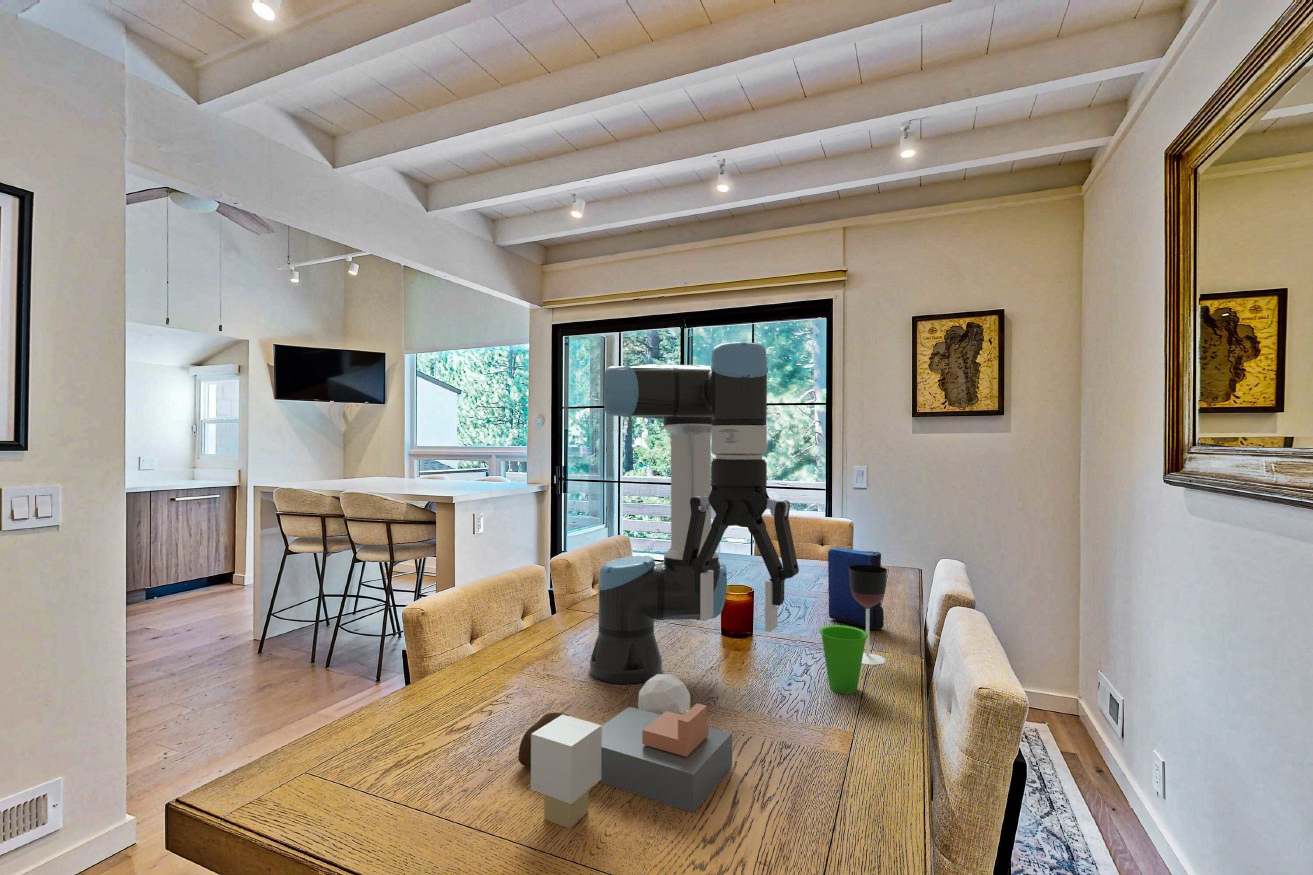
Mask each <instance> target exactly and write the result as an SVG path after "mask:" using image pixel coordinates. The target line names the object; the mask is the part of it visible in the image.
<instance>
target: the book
mask: <svg viewBox="0 0 1313 875" xmlns="http://www.w3.org/2000/svg"><path fill="white" fill-rule="evenodd" d="M827 563H828V564H827V570H828V574H827V575H828V578H827V579H828V617H829V618H830V619H831V620H834V621H838V622H842V623H845V624H850V625H851V626H852V625H853V626H858V627H861V628H866V608H865V607H864V606H863V605H861V604H859V603H858V602H857V601H856V600H855V599H854V597H853V595H852V592H851V588H850V578H849V567H850V566H853V565H874V566H880V567H882V553H881V552H879V551H872V550H871V551H870V550H869V551H867V550H865V551H864V550H857V549H849V548H845V547H839V546H837V547H833V548H830V549H828V552H827ZM884 618H885V615H884V608H883V607H882V601H881V602H879V603H878V604H877V605H875V606H873V607H871V608H870V616H869V630H870V629H871V630H879V629H883V628H884V622H885V621H884V620H885V619H884Z"/></svg>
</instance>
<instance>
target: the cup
mask: <svg viewBox="0 0 1313 875" xmlns="http://www.w3.org/2000/svg"><path fill="white" fill-rule="evenodd" d="M819 633H820V634H821V640H822V641H821V642H822V646H823V653H824V661H825V667H826V672H827V678H828V679H827V680H828V685H829V687H830V689H831V690H832V691H834V692H836V693H840V694H847V695H848V694H854V693H856V691H857V690H858V688H859V682H860V681H859V680H860V675H861V668H862V664H863V663H862V658H863V653H865V651H864V650H865V647H866V638H867V637H868V635H867V633H866V630H863V629H861V628H858V627H854V626H849V625H841V624H840V625H837V624H836V625H827V626H822V627H821V628H820V629H819Z"/></svg>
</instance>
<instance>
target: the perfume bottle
mask: <svg viewBox="0 0 1313 875" xmlns="http://www.w3.org/2000/svg"><path fill="white" fill-rule="evenodd" d="M637 709H640V710H644V711H647V712H651V713H655V714H659V715H662V714H663V713H664V712H666V711H668V712H672V713H676V714H680V715H684V714H685V713H686V712H687V711H689V710H690V709H691V694H690V692H689V690H688V687H687V686H686V684H685V683H684V681H683V682H682V680H680V679H679V678H678V677H676V676H674V675H673V674H663V673H661V674H657V675H655V676H654V677H652V678H651V679H649V680H648V681H645V683H644V685H643V686H642V687H641V689H640V690H639V691H638V702H637Z"/></svg>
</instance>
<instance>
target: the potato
mask: <svg viewBox="0 0 1313 875" xmlns="http://www.w3.org/2000/svg"><path fill="white" fill-rule="evenodd" d="M561 715H566V716H570V715H569V714H566V713H563V712H548V713H546V714H545V715H543V716H542V717H541V718H540V719H539V720H538V721H536V723H534V724H533V725H532V726H530V727H529V728H528V729H527V730H526V731H525V732H524V735H523V736H522V739H521V741H520V745H519V747H518V748H519V750H518V762H519V764H521V765H522V766H523V767H525V768H530V769H531V734H532V733H533V732H535V731H537V730H538V729H540V728H541V727H543V726H545V725H546V724H548V723H550V722H551V721H553V720H554V719H556V718H558V717H559V716H561Z"/></svg>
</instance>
